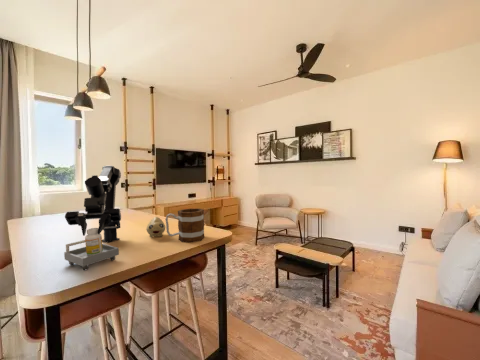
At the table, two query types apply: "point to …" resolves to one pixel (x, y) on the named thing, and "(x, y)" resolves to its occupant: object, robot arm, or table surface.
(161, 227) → the yellow toy creature
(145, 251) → the table surface
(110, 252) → the grey toy cart
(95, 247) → the supplement bottle
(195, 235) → the mug
